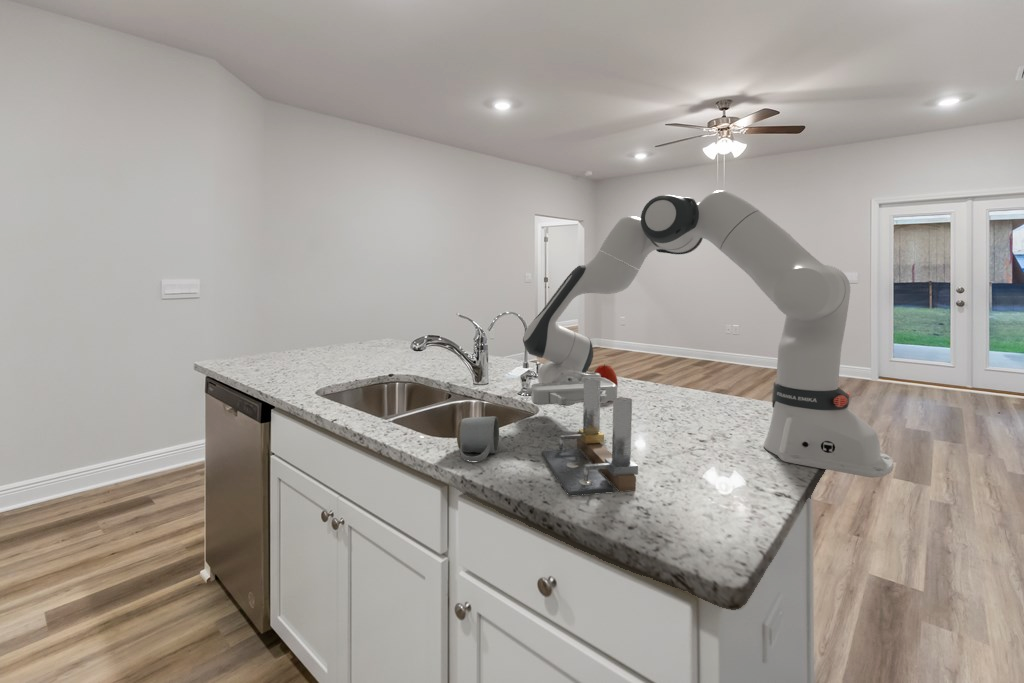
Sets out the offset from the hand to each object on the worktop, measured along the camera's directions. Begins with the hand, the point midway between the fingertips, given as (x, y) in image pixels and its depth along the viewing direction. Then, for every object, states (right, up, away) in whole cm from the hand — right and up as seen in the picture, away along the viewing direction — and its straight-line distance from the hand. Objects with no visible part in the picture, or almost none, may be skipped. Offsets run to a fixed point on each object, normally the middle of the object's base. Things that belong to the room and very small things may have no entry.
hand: (583, 400), depth 108 cm
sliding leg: (-1, -9, -5) cm, 11 cm away
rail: (+2, -11, -11) cm, 16 cm away
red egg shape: (+12, -5, +41) cm, 43 cm away
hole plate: (-4, -12, -14) cm, 19 cm away
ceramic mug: (-23, -11, -4) cm, 26 cm away
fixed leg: (+1, -11, -20) cm, 24 cm away
